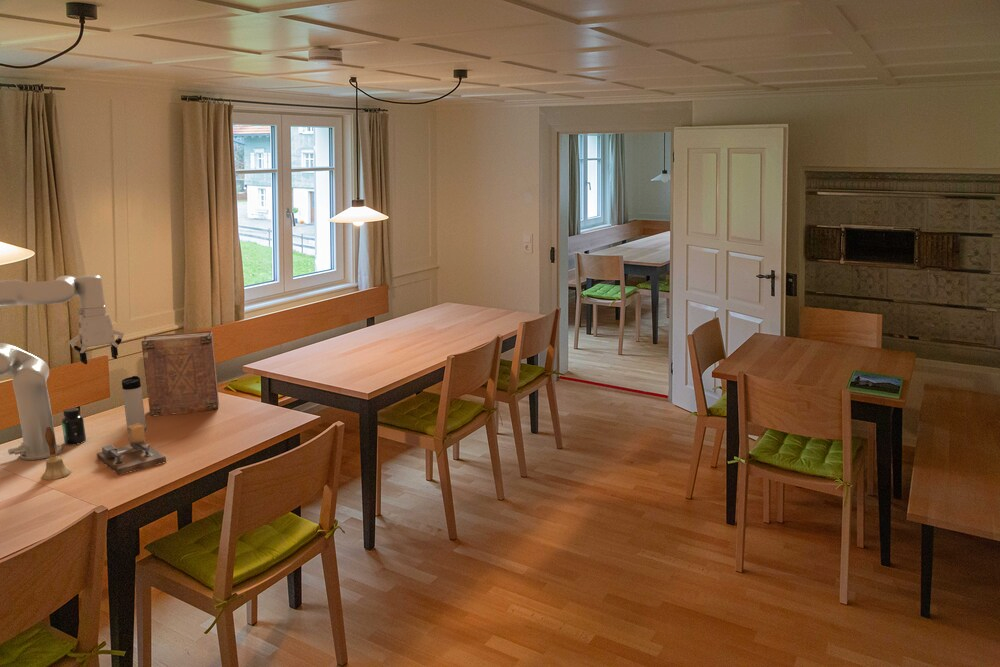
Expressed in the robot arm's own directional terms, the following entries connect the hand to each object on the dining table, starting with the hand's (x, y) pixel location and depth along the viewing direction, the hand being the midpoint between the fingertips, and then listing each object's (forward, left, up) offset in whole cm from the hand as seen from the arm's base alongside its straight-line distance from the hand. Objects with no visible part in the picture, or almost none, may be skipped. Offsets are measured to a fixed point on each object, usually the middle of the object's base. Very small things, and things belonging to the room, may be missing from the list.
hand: (99, 360), depth 280 cm
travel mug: (+12, +8, -31) cm, 34 cm away
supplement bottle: (-8, +12, -31) cm, 34 cm away
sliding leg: (+3, -21, -28) cm, 35 cm away
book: (+35, +20, -31) cm, 51 cm away
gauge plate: (0, -21, -30) cm, 37 cm away
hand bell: (-22, -16, -31) cm, 41 cm away
